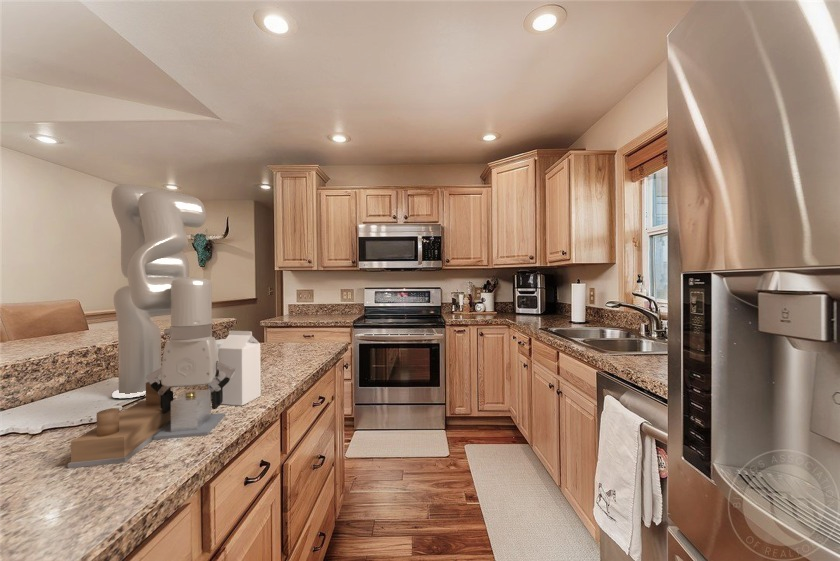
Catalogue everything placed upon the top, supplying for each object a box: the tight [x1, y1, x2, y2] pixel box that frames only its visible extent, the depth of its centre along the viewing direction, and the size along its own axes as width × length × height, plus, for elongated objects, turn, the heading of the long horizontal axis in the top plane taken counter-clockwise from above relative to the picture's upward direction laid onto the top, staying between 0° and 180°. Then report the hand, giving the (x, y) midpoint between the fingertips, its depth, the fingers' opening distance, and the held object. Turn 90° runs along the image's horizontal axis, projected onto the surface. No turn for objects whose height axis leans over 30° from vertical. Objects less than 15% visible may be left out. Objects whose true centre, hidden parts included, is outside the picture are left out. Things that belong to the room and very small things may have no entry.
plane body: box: [67, 380, 177, 469], centre depth 68 cm, size 21×9×10 cm, turn 13°
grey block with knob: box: [171, 389, 212, 432], centre depth 73 cm, size 7×5×7 cm
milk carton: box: [219, 330, 262, 406], centre depth 88 cm, size 7×7×19 cm
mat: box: [152, 412, 226, 441], centre depth 73 cm, size 10×10×1 cm
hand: (192, 409), depth 73 cm, fingers open, 9 cm apart
